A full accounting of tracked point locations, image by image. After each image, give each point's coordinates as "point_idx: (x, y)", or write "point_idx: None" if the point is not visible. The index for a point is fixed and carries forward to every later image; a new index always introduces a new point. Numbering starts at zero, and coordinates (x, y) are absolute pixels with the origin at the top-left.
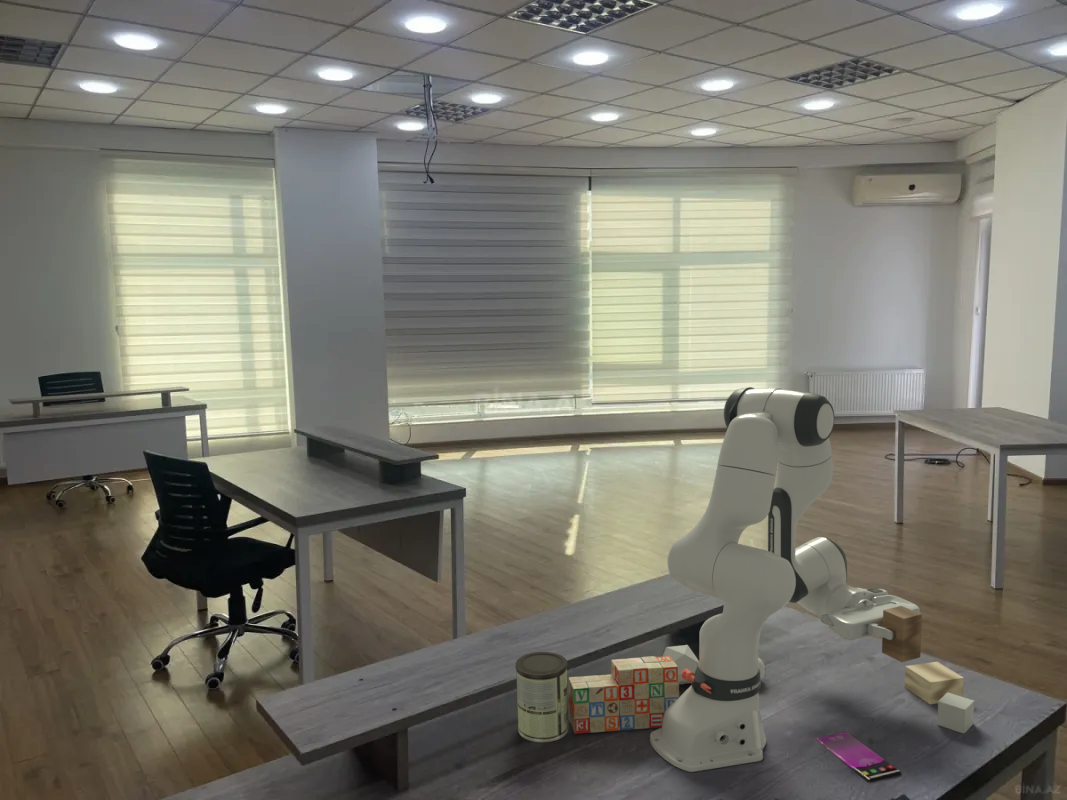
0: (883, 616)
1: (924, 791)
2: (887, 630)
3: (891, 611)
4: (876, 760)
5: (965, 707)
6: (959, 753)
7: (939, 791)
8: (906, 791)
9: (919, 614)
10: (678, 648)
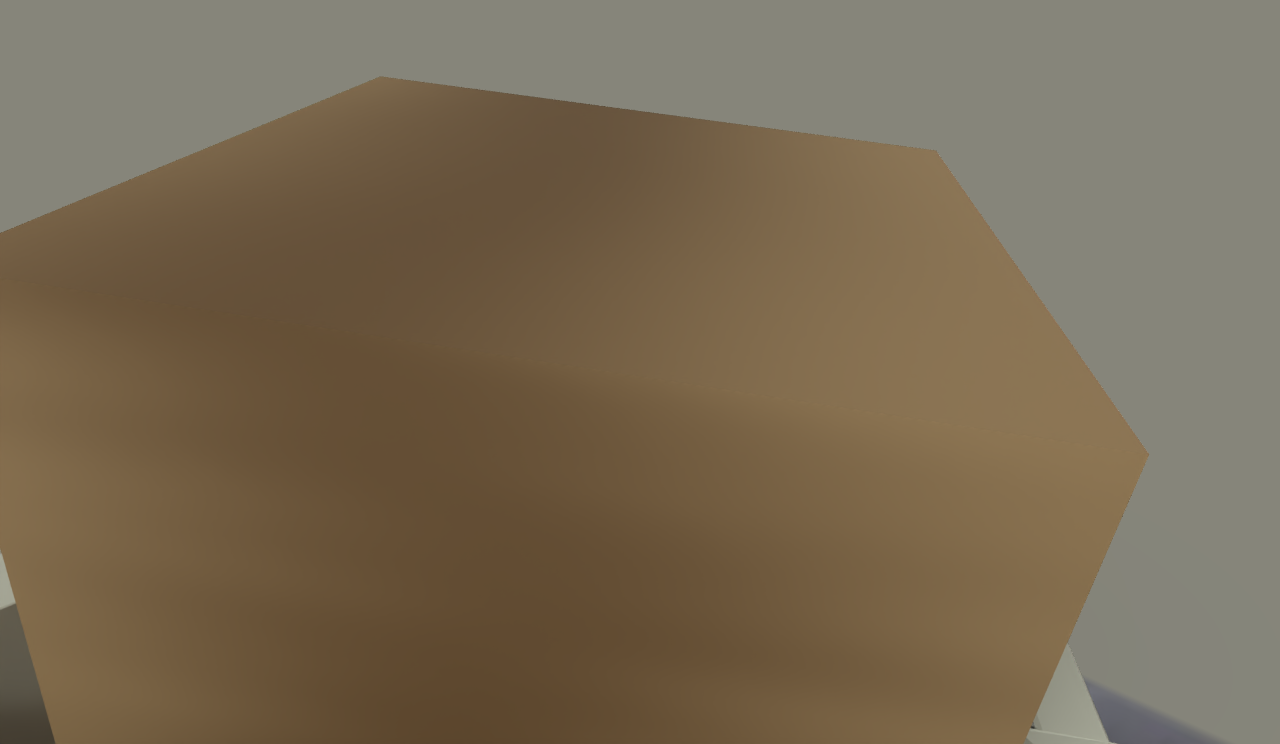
0: (1031, 687)
1: (1095, 684)
2: (1068, 650)
3: (883, 297)
4: None
5: None
6: None
7: None
8: (1187, 727)
9: (431, 88)
10: None
